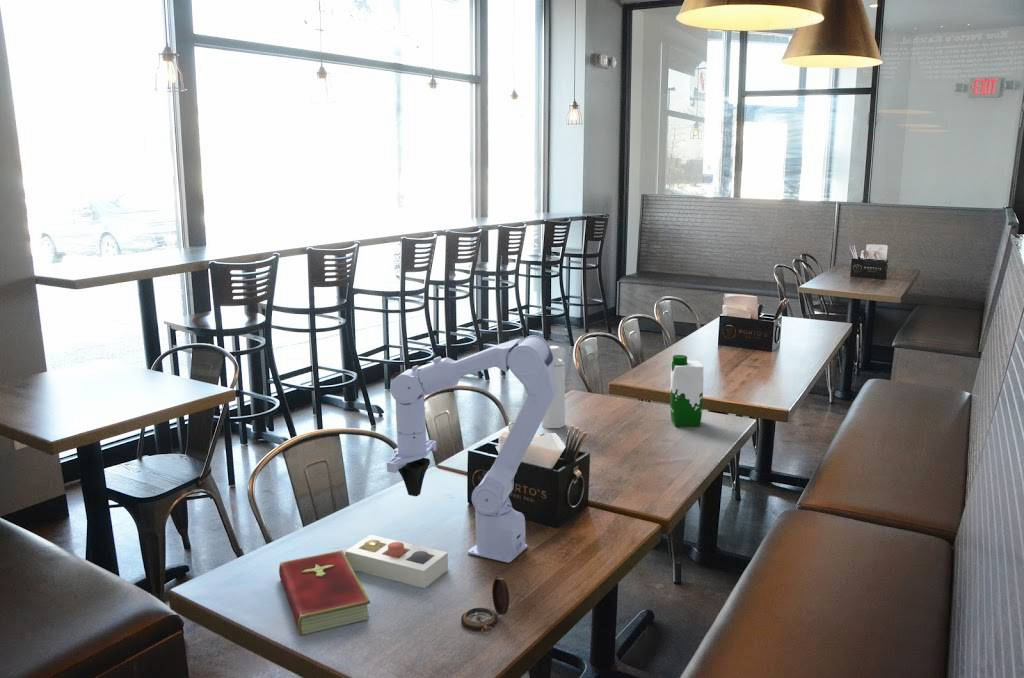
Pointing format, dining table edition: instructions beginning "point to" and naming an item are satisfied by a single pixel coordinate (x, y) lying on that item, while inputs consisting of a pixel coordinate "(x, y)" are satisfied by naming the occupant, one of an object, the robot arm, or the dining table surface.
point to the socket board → (398, 562)
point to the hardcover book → (323, 592)
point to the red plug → (396, 549)
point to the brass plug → (372, 545)
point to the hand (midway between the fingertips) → (414, 494)
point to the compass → (485, 617)
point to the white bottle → (557, 395)
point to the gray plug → (420, 557)
